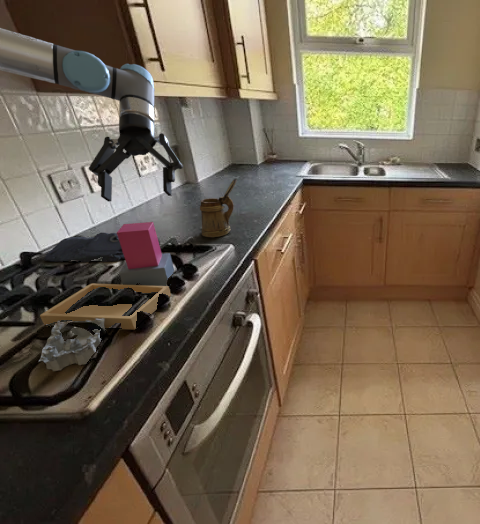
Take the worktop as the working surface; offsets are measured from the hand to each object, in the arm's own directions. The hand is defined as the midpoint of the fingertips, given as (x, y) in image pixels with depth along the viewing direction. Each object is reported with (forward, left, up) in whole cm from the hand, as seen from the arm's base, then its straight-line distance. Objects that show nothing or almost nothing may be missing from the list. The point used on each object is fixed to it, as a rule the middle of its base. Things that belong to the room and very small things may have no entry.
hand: (137, 196), depth 80 cm
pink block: (+3, -8, -14) cm, 16 cm away
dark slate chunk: (-22, +8, -19) cm, 30 cm away
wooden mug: (+6, +27, -19) cm, 34 cm away
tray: (+3, -21, -19) cm, 28 cm away
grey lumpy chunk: (+6, -33, -19) cm, 39 cm away
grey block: (+3, -8, -19) cm, 21 cm away
